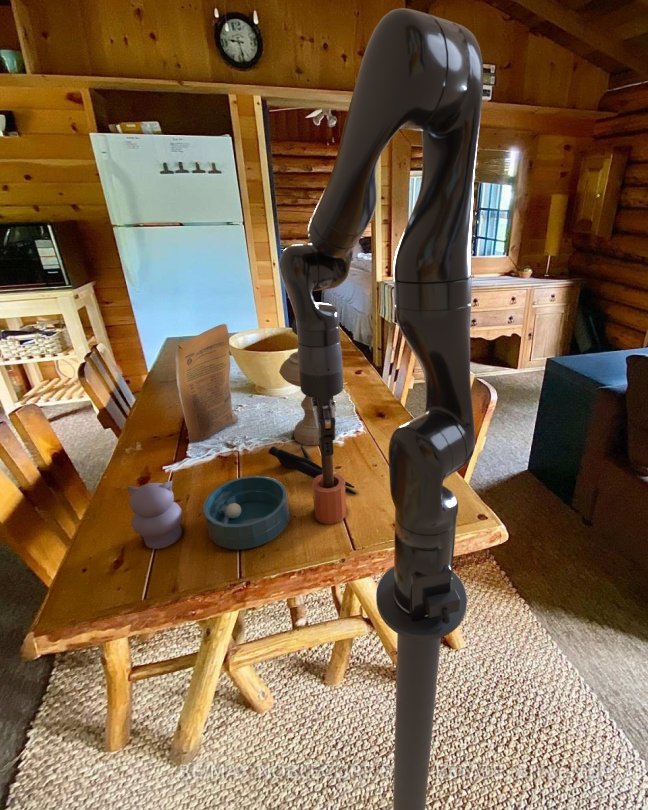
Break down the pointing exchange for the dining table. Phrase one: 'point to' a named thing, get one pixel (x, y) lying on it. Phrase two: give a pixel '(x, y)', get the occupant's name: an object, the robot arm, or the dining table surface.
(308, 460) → the black elongated part
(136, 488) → the cat figurine
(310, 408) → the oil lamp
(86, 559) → the dining table surface
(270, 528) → the bowl
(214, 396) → the pancake mix bag
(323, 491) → the holder
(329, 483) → the stick
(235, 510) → the ball
